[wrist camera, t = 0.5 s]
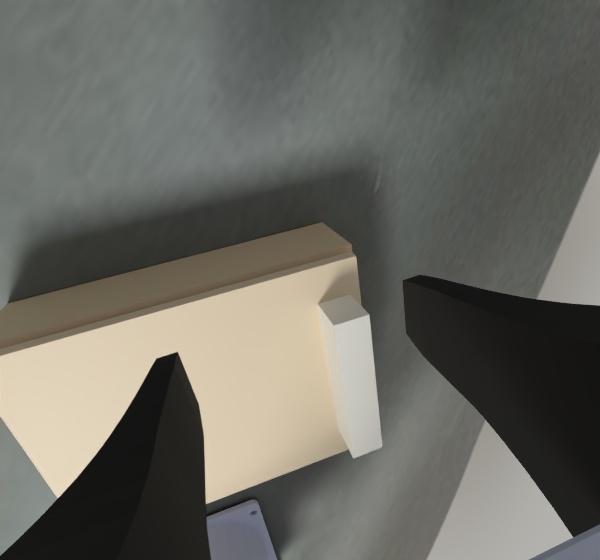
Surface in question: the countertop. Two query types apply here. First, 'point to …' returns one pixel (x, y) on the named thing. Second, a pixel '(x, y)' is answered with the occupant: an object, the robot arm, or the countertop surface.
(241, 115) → the countertop surface
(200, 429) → the robot arm
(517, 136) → the countertop surface
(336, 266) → the mailer lid
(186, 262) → the tray
